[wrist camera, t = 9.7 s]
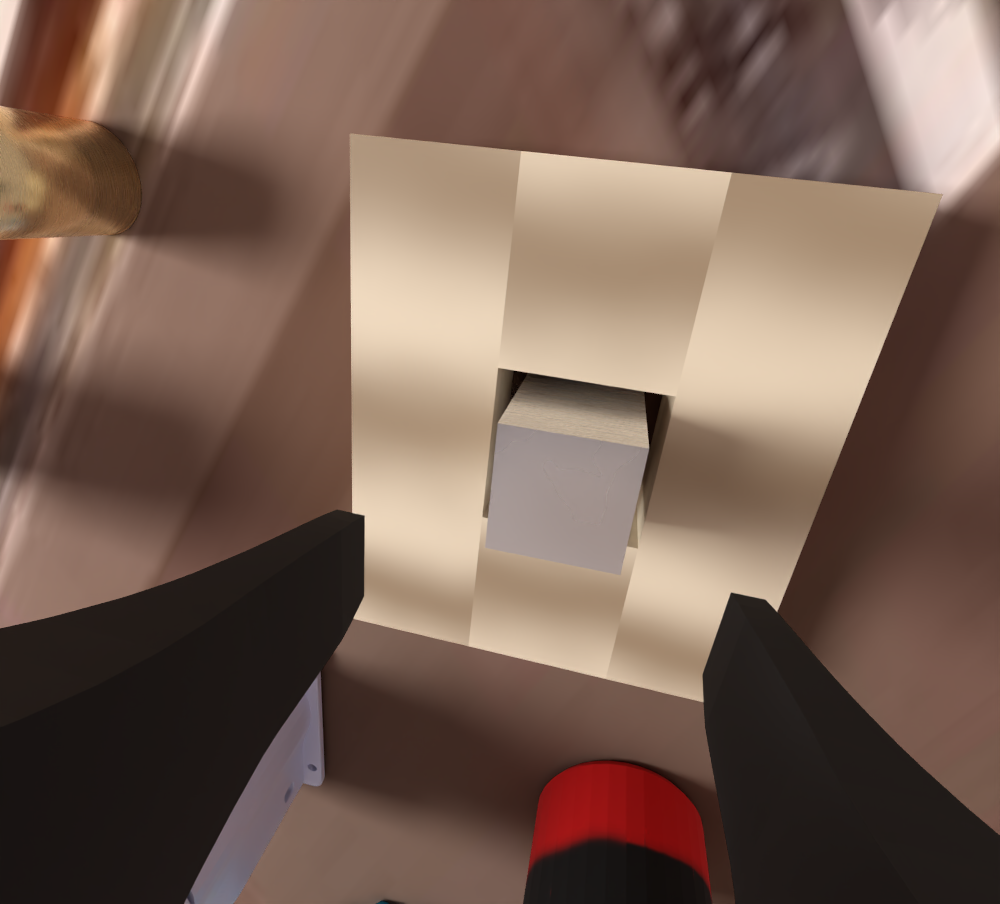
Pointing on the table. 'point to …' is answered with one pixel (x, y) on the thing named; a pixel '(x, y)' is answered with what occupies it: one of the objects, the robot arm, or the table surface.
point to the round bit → (63, 178)
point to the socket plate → (606, 382)
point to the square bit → (568, 472)
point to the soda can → (616, 840)
